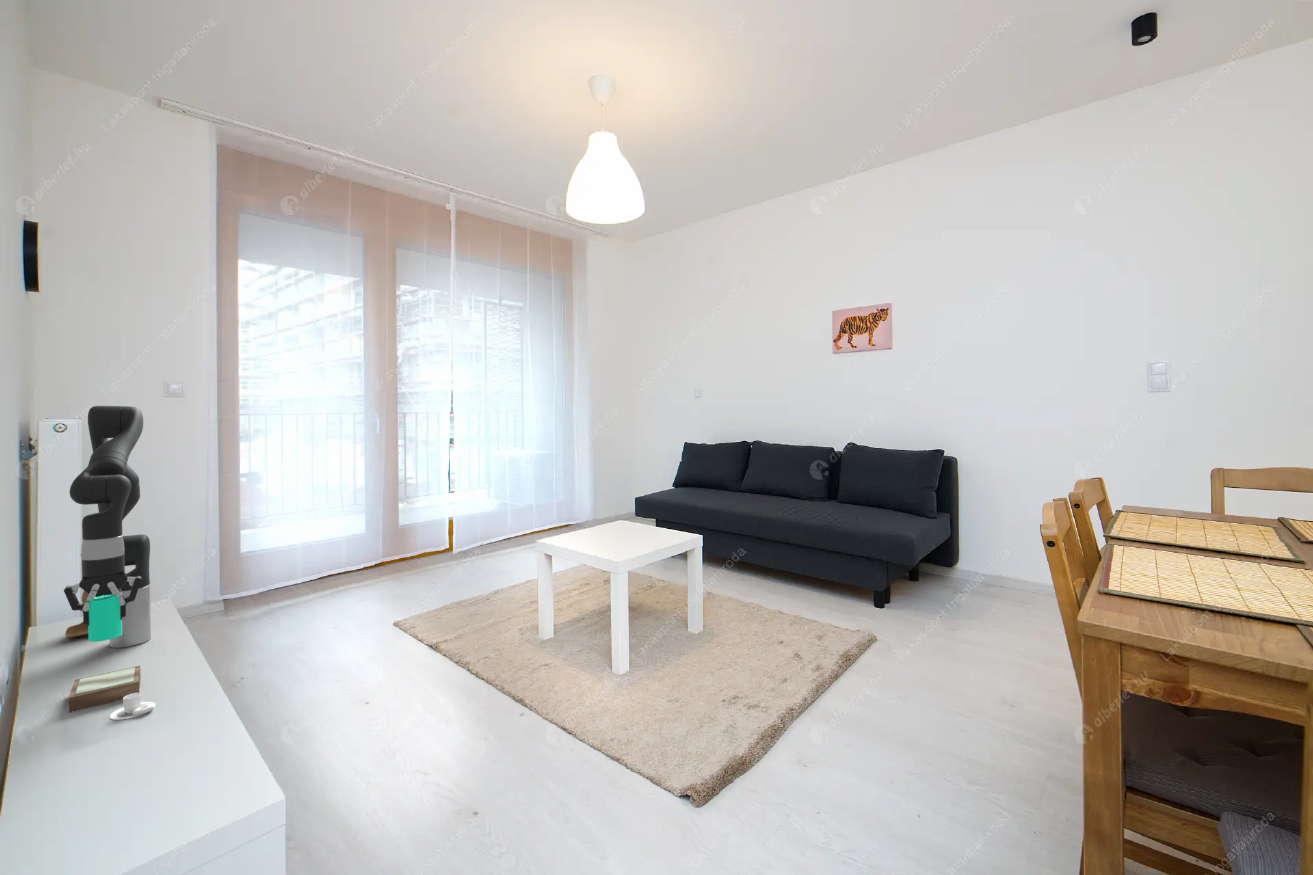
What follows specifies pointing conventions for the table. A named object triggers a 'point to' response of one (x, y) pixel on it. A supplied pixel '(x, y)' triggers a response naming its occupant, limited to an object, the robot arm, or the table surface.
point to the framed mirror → (104, 688)
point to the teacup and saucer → (133, 706)
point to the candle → (104, 618)
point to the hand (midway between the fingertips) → (105, 621)
